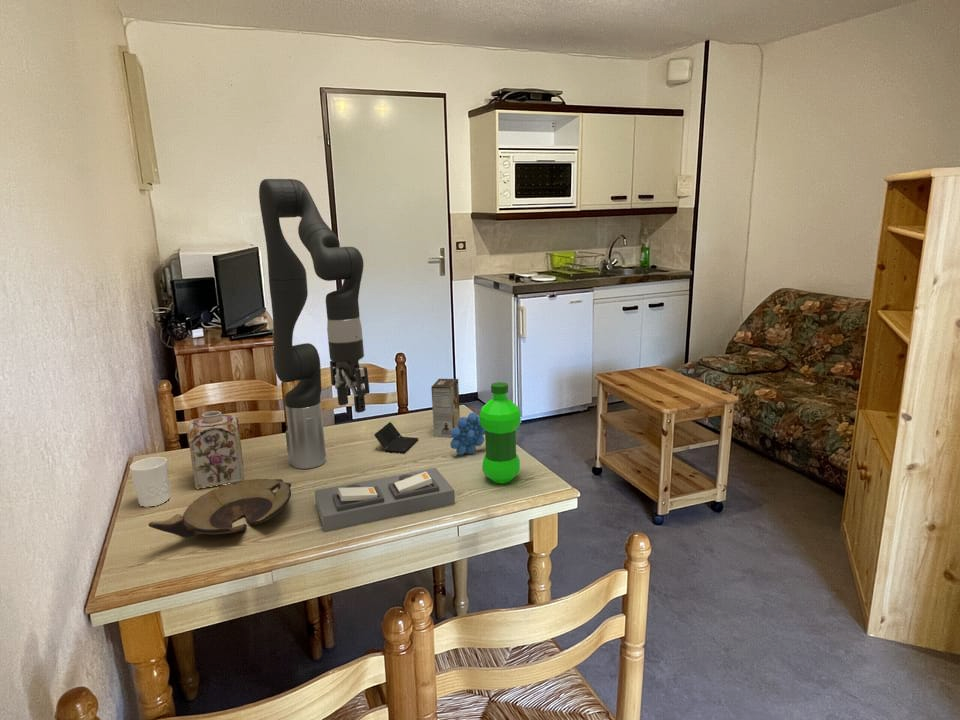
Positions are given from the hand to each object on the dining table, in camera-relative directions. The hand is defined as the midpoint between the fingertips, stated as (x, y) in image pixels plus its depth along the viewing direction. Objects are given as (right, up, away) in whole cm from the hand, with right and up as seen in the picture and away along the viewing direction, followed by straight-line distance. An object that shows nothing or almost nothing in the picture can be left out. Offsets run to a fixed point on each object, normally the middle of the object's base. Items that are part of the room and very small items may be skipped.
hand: (351, 408), depth 139 cm
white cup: (-50, -24, +9) cm, 56 cm away
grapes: (+26, -15, +34) cm, 45 cm away
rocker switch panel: (+7, -23, +5) cm, 24 cm away
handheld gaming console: (+5, -15, +40) cm, 43 cm away
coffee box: (+19, -12, +50) cm, 55 cm away
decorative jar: (-39, -20, +22) cm, 49 cm away
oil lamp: (-27, -26, -2) cm, 38 cm away
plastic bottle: (+35, -19, +16) cm, 43 cm away
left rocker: (+2, -19, -1) cm, 19 cm away
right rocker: (+14, -18, +3) cm, 23 cm away
